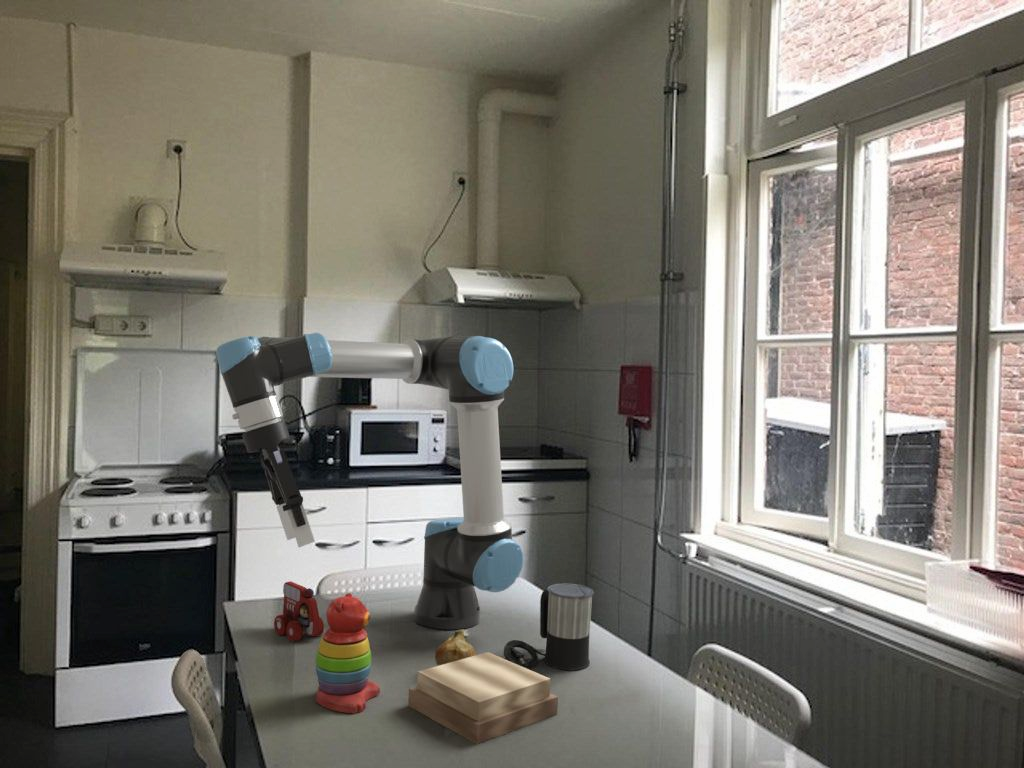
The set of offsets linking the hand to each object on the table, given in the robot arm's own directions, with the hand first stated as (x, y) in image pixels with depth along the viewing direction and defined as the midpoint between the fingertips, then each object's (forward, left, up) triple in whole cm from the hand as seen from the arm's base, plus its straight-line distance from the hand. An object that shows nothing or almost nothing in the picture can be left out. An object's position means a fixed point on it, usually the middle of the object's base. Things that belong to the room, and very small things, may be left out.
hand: (300, 540), depth 145 cm
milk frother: (-46, +17, -27) cm, 56 cm away
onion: (-28, +10, -27) cm, 40 cm away
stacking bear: (-5, +8, -27) cm, 28 cm away
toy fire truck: (-15, -26, -27) cm, 40 cm away
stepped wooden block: (-21, +26, -26) cm, 43 cm away
